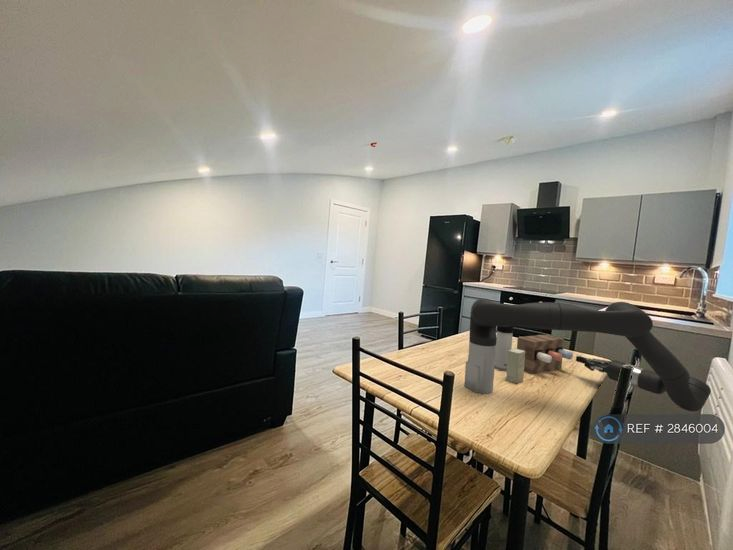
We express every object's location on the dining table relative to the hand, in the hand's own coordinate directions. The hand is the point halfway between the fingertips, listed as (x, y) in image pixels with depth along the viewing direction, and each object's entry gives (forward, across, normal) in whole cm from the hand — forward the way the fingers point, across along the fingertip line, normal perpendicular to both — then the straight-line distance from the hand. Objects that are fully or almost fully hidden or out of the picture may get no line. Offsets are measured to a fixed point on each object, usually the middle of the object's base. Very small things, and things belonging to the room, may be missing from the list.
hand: (577, 358), depth 123 cm
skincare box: (+6, +30, +8) cm, 32 cm away
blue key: (+5, 0, +1) cm, 5 cm away
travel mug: (+17, +24, +8) cm, 30 cm away
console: (+12, +7, +8) cm, 16 cm away
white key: (+5, +14, +1) cm, 15 cm away
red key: (+5, +7, +1) cm, 9 cm away
